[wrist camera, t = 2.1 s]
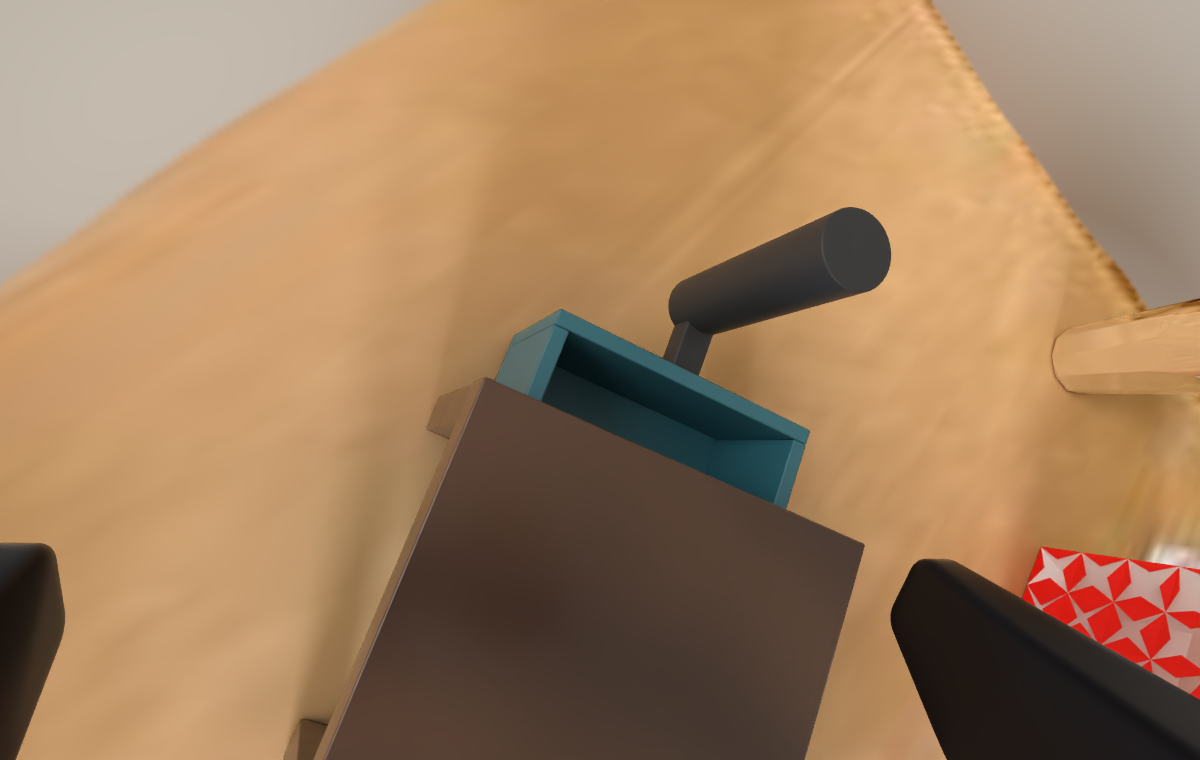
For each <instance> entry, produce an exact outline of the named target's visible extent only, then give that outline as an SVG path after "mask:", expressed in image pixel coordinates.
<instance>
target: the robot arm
mask: <svg viewBox="0 0 1200 760" xmlns="http://www.w3.org/2000/svg"><path fill="white" fill-rule="evenodd" d="M64 625H65V609H64V603H63V597H62V590H61V584H60V578H59V572H58V565H57V559H56V555H55V553H54V551H53V549H52V548H51V547H49V546H48V545H46V544H42V543H0V760H16V758H17V755H18V752H19V750H20V747H21V745H22V742H23V739H24V737H25V734H26V731H27V729H28V726H29V724H30V721H31V718H32V716H33V713H34V710H35V708H36V705H37V703H38V700H39V697H40V695H41V692H42V689H43V687H44V684H45V682H46V679H47V676H48V674H49V671H50V668H51V666H52V663H53V661H54V658H55V655H56V653H57V650H58V648H59V645H60V642H61V639H62V635H63V631H64ZM891 626H892V630H893V632H894V635H895V637H896V640H897V642H898V645H899V647H900V650H901V652H902V654H903V657H904V659H905V662H906V664H907V667H908V669H909V671H910V674H911V676H912V679H913V681H914V684H915V686H916V689H917V691H918V693H919V696H920V698H921V701H922V703H923V706H924V708H925V710H926V713H927V715H928V718H929V720H930V723H931V725H932V727H933V730H934V732H935V735H936V737H937V739H938V741H939V744H940V746H941V748H942V751H943V753H944V755H945V757H946V759H947V760H1200V700H1199V699H1198V698H1196V697H1194V696H1192V695H1191V694H1189V693H1187V692H1185V691H1184V690H1182V689H1180V688H1178V687H1176V686H1175V685H1173V684H1171V683H1169V682H1168V681H1166V680H1164V679H1162V678H1161V677H1159V676H1157V675H1155V674H1154V673H1152V672H1150V671H1148V670H1146V669H1145V668H1143V667H1141V666H1139V665H1138V664H1136V663H1134V662H1132V661H1131V660H1129V659H1127V658H1125V657H1124V656H1122V655H1120V654H1118V653H1116V652H1115V651H1113V650H1111V649H1109V648H1108V647H1106V646H1104V645H1102V644H1101V643H1099V642H1097V641H1095V640H1093V639H1092V638H1090V637H1088V636H1086V635H1085V634H1083V633H1081V632H1079V631H1078V630H1076V629H1074V628H1072V627H1071V626H1069V625H1067V624H1065V623H1063V622H1062V621H1060V620H1058V619H1056V618H1055V617H1053V616H1051V615H1049V614H1048V613H1046V612H1044V611H1042V610H1041V609H1039V608H1037V607H1035V606H1033V605H1032V604H1030V603H1028V602H1026V601H1025V600H1023V599H1021V598H1019V597H1018V596H1016V595H1014V594H1012V593H1011V592H1009V591H1007V590H1005V589H1003V588H1002V587H1000V586H998V585H996V584H995V583H993V582H991V581H989V580H988V579H986V578H984V577H982V576H980V575H979V574H977V573H975V572H973V571H972V570H970V569H968V568H966V567H965V566H963V565H961V564H959V563H957V562H955V561H953V560H949V559H922V560H919V561H918V562H916V563H915V564H914V565H913V567H912V568H911V570H910V572H909V574H908V576H907V578H906V580H905V582H904V584H903V586H902V588H901V590H900V592H899V594H898V596H897V598H896V600H895V602H894V604H893V607H892V610H891Z"/></svg>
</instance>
